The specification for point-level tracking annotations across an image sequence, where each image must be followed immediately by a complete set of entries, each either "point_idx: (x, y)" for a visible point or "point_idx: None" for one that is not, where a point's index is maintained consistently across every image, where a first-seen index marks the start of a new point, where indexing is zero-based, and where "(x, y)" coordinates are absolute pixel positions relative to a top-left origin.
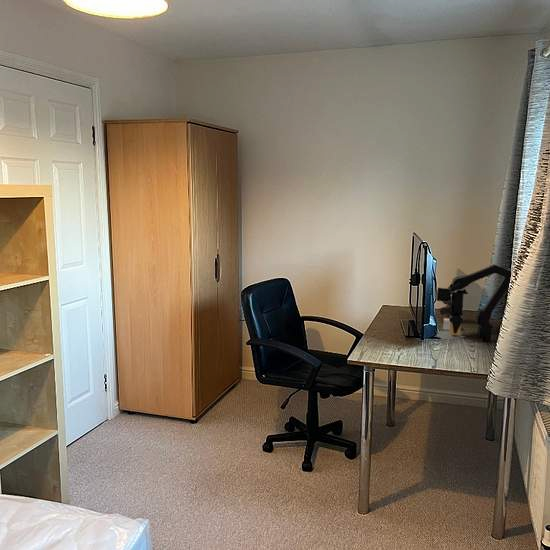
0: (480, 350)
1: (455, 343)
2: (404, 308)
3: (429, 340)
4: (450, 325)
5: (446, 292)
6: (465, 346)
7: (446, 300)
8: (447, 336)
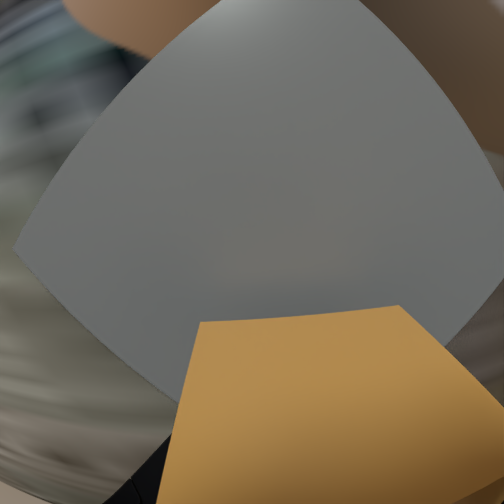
0: (20, 472)
1: (42, 360)
2: None
3: (16, 70)
4: (169, 464)
5: None
6: (23, 421)
7: None
8: (192, 278)
